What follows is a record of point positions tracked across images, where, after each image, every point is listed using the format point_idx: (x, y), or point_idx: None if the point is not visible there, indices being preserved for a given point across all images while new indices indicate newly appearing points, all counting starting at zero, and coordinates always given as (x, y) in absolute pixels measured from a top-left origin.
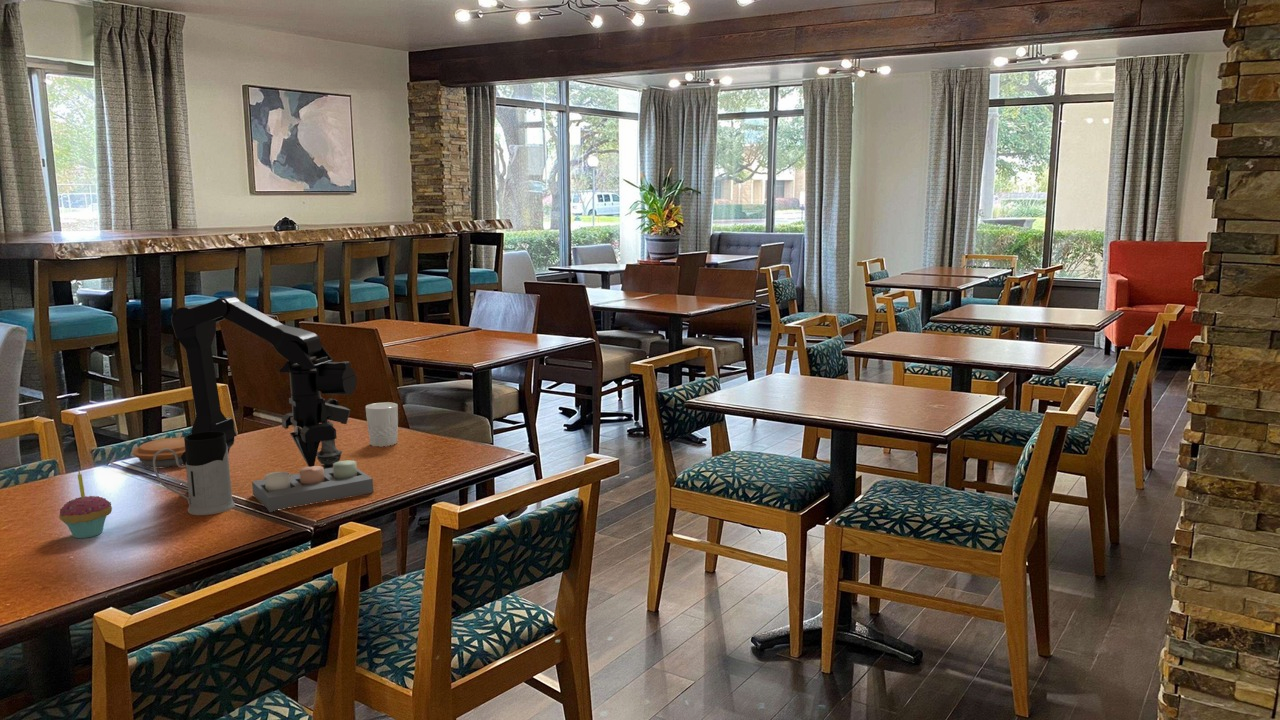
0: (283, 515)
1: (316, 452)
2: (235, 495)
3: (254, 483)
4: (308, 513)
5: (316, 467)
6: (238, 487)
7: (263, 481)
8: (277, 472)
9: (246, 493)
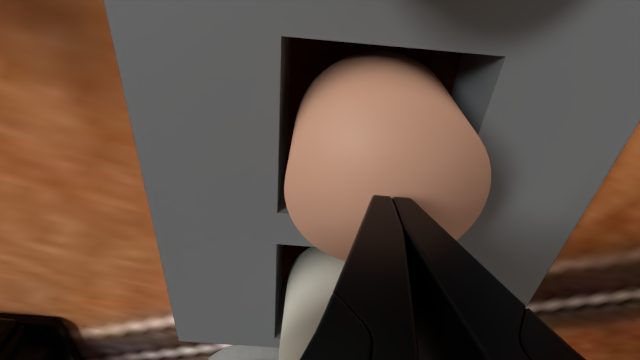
0: (552, 289)
1: (514, 304)
2: (163, 319)
3: (223, 343)
4: (636, 227)
5: (370, 149)
6: (47, 289)
7: (210, 315)
8: (295, 346)
9: (156, 293)
